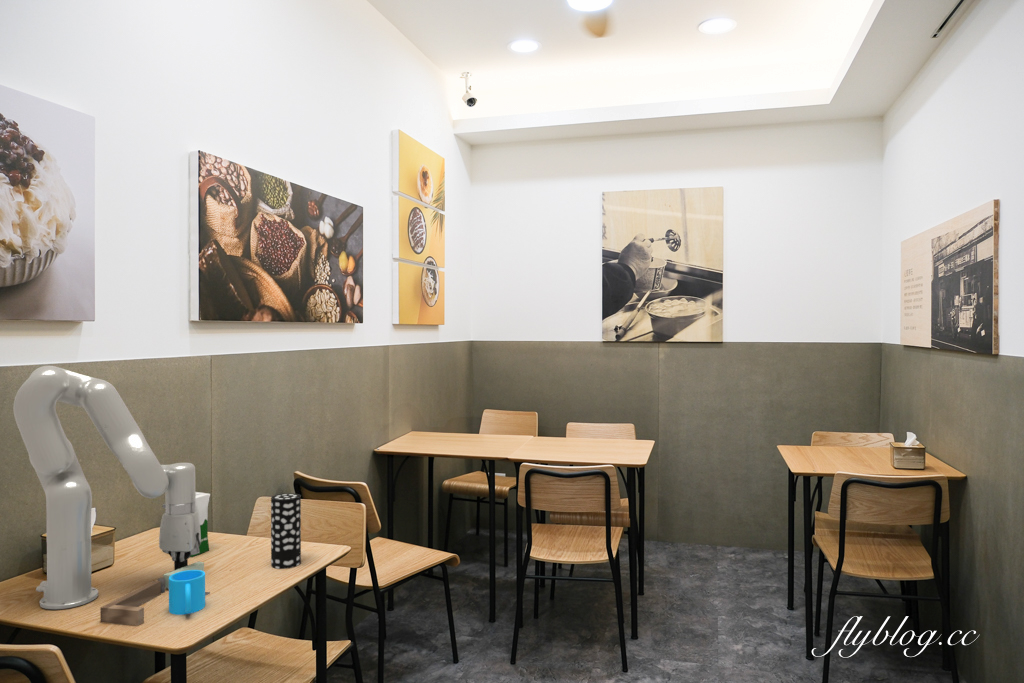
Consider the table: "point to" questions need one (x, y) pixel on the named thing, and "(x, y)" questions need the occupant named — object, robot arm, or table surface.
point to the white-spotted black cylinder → (285, 530)
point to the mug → (186, 592)
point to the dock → (132, 604)
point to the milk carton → (202, 520)
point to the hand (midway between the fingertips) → (181, 574)
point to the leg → (193, 566)
